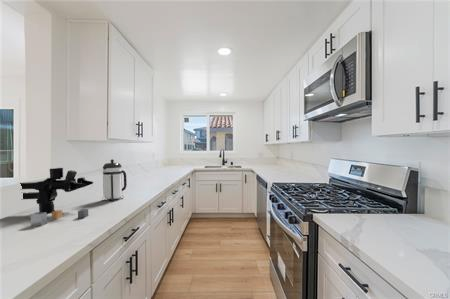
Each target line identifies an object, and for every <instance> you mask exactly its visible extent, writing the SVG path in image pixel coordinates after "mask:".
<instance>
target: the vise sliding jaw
mask: <svg viewBox="0 0 450 299" xmlns="http://www.w3.org/2000/svg"><path fill="white" fill-rule="evenodd" d="M62 217H63V210H62V209H55V211H53V212H51V220H52V221H53V220H54V221H55V220H59V219H60V218H62Z"/></svg>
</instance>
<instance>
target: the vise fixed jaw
mask: <svg viewBox="0 0 450 299" xmlns="http://www.w3.org/2000/svg"><path fill="white" fill-rule="evenodd" d="M88 216H89V208H81V209H80V210H78V211H77V219H85V218H87V217H88Z"/></svg>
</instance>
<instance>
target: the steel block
mask: <svg viewBox="0 0 450 299" xmlns="http://www.w3.org/2000/svg"><path fill="white" fill-rule="evenodd" d="M47 215H48V213H47V212H39V211H38V212H34V213H31V214H30V227H43V226H44V225H47V224H48V216H47Z"/></svg>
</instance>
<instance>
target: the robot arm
mask: <svg viewBox="0 0 450 299" xmlns="http://www.w3.org/2000/svg"><path fill="white" fill-rule="evenodd" d="M77 173H78V172H77V171H76V170H72V169H70V170H68V171H67V173H66V175H65V179H64V167H56V168H49V177H47V178H46V179H44V180H41V181H37V182H36V181H35V182H30V181H29V182H19V183H20V184H21V186H22V189H21V190H36V191H33V192H32V191H31V192H30V191H29V192H28V193H26V192H22V193H23V199H22V200H36V204H37V205H38V212H47V214H52V212H54V211H56V209H55V204H54V201H55V200H56V198H57V197H58V191H57V190H61V191H63V192H65V193H70V192H75V191H76V190H79V189H81V188H82V189H83V188H85V187H88V186H90V185H93V184H94V181H91V180H86V178H85V177H83V176H82V177H78V178H77V179H76V176H77ZM62 178H63V179H62Z"/></svg>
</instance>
